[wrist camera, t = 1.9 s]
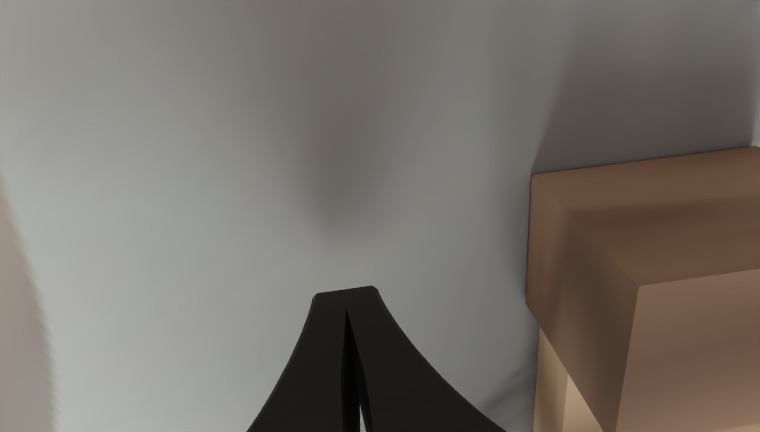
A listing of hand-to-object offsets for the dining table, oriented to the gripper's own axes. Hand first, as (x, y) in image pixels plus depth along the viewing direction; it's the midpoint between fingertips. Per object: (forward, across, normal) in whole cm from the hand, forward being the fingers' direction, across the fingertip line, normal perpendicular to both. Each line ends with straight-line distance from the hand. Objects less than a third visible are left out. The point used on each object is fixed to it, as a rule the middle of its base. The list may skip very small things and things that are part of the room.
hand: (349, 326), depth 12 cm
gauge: (+2, -8, +4) cm, 9 cm away
